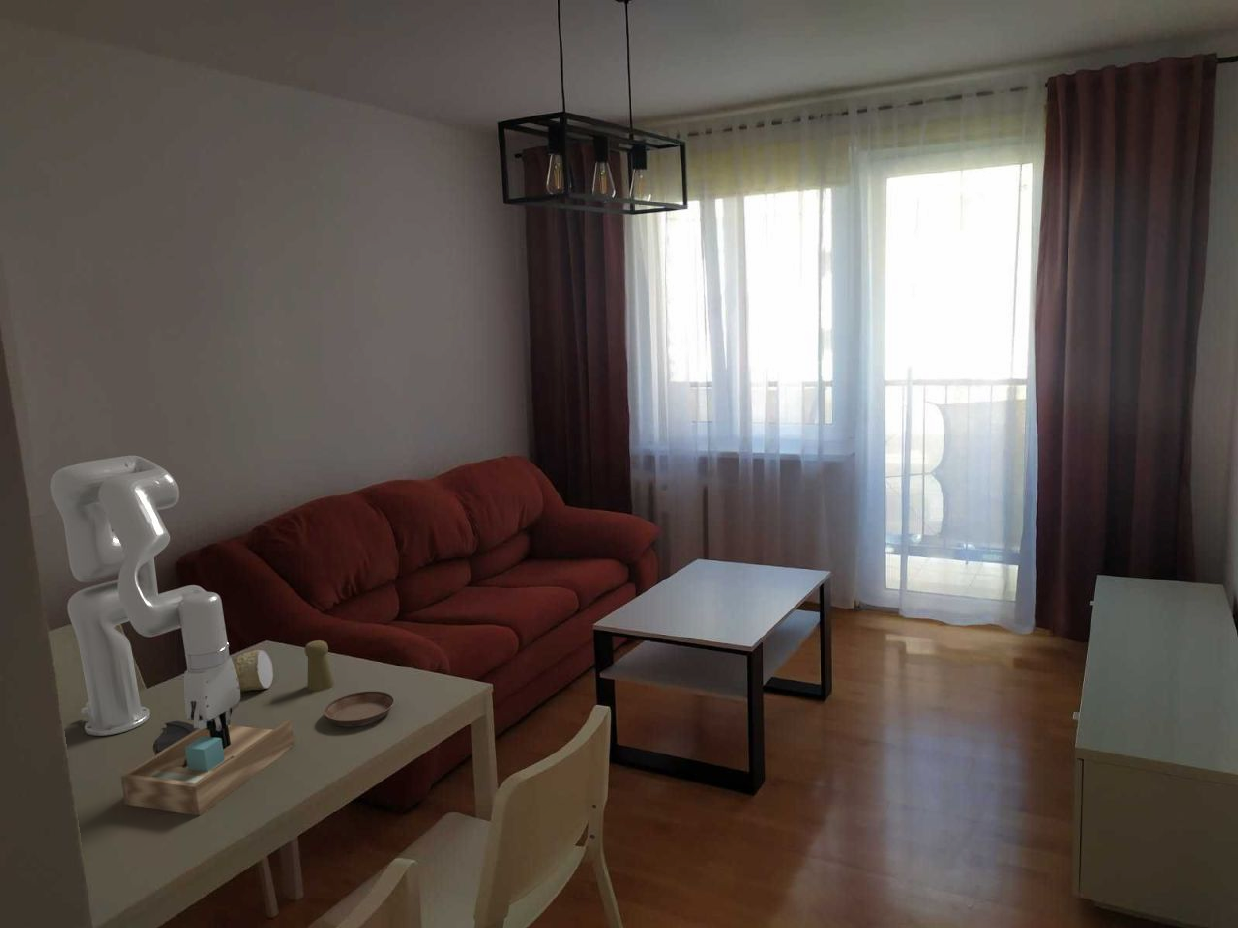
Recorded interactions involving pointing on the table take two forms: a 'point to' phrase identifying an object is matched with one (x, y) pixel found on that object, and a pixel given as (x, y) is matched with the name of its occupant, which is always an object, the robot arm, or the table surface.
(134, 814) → the table surface
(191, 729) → the fan shaped piece
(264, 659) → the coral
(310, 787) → the table surface
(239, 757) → the box
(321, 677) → the cork
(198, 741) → the teal block
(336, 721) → the saucer
